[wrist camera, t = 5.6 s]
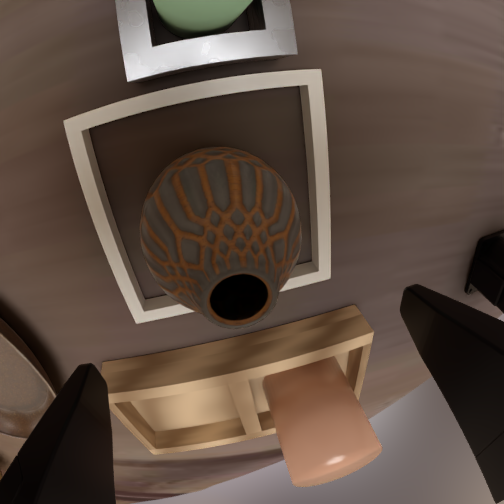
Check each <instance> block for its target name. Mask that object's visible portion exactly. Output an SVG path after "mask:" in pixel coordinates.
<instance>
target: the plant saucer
mask: <svg viewBox="0 0 504 504" xmlns="http://www.w3.org/2000/svg"><path fill="white" fill-rule="evenodd" d="M56 396H57V393H56V391H55V389H54V387H53V385H52V383H51V381H50V379H49V377H48V375H47V374H46V372H45V371H44V369H43V367H42V366H41V364H40V363H39V361H38V360H37V358H36V357H35V355H34V354H33V353H32V351H31V350H30V349H29V347H28V346H27V345H26V344H25V343H24V341H23V340H22V339H21V338H20V337H19V336H18V335H17V334H16V332H15V331H14V330H13V329H12V328H11V327H10V326H9V325H8V324H7V323H6V322H5V321H3V320H2V319H1V318H0V434H3V435H7V436H10V437H15V438H20V439H27V438H28V437H29V435H30V434H31V432H32V431H33V429H34V428H35V426H36V425H37V423H38V422H39V420H40V419H41V417H42V416H43V414H44V413H45V412H46V410H47V409H48V407H49V406H50V404H51V403H52V401H53V400H54V399H55V397H56Z"/></svg>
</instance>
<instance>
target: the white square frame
mask: <svg viewBox="0 0 504 504" xmlns="http://www.w3.org/2000/svg"><path fill="white" fill-rule="evenodd" d="M288 86H299V87H300V96H301V105H302V115H303V125H304V136H305V148H306V160H307V174H308V189H309V205H310V224H311V247H312V261H311V262H307V263H303V264H299V265H296V266H295V269H294V271H293V273H292V275H291V276H290V278H289V280H288V281H287V283H286V284H285V285H284V287H283V288H282V289H281V290H280V291H284V290H288V289H292V288H296V287H300V286H304V285H308V284H312V283H316V282H319V281H323V280H327V279H330V276H331V219H330V183H329V161H328V143H327V128H326V115H325V103H324V93H323V82H322V73H321V69H308V70H291V71H278V72H267V73H258V74H249V75H241V76H234V77H227V78H221V79H215V80H209V81H203V82H198V83H193V84H188V85H183V86H178V87H174V88H169V89H165V90H161V91H156V92H152V93H148V94H145V95H141V96H137V97H134V98H130V99H126V100H123V101H120V102H116V103H113V104H110V105H107V106H104V107H100V108H97V109H94V110H92V111H89V112H86V113H83V114H80V115H77V116H75V117H72V118H69V119H67V120H64V121H63V122H64V126H65V130H66V134H67V138H68V142H69V146H70V150H71V153H72V157H73V161H74V164H75V168H76V171H77V174H78V178H79V181H80V184H81V187H82V190H83V193H84V196H85V200H86V202H87V205H88V208H89V211H90V214H91V217H92V220H93V223H94V225H95V228H96V231H97V233H98V236H99V239H100V241H101V244H102V247H103V249H104V252H105V254H106V257H107V259H108V262H109V264H110V266H111V269H112V271H113V274H114V276H115V278H116V280H117V283H118V285H119V287H120V290H121V292H122V294H123V296H124V298H125V301H126V303H127V305H128V307H129V309H130V311H131V313H132V316H133V318H134V320H135V322H136V324H137V323H142V322H147V321H152V320H157V319H162V318H167V317H172V316H176V315H181V314H186V313H190V312H195V311H193V310H190V309H188V308H186V307H184V306H182V305H181V304H179V303H177V302H176V301H175V300H173V299H172V298H171V297H170V296H168V295H165V296H160V297H155V298H151V299H146V300H145V298H144V296H143V294H142V291H141V289H140V286H139V284H138V281H137V279H136V276H135V274H134V271H133V269H132V266H131V264H130V261H129V258H128V256H127V253H126V250H125V248H124V245H123V242H122V239H121V236H120V234H119V231H118V228H117V225H116V222H115V219H114V216H113V213H112V210H111V207H110V204H109V201H108V198H107V194H106V191H105V188H104V184H103V181H102V178H101V174H100V171H99V167H98V164H97V160H96V156H95V153H94V149H93V145H92V141H91V137H90V133H89V129H88V128H91V127H94V126H97V125H100V124H103V123H107V122H110V121H113V120H116V119H120V118H123V117H127V116H130V115H134V114H137V113H141V112H145V111H149V110H152V109H156V108H161V107H165V106H169V105H173V104H178V103H182V102H187V101H192V100H197V99H202V98H207V97H213V96H219V95H225V94H231V93H237V92H244V91H252V90H259V89H268V88H277V87H288ZM280 291H279V292H280Z"/></svg>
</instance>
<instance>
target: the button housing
mask: <svg viewBox="0 0 504 504" xmlns="http://www.w3.org/2000/svg"><path fill="white" fill-rule="evenodd" d="M115 3H116V11H117V19H118V26H119V33H120V40H121V46H122V53H123V59H124V65H125V70H126V76H127V81H128V82H134V83H140V82H143V81H147V80H151V79H155V78H159V77H164V76H168V75H172V74H177V73H182V72H187V71H192V70H197V69H203V68H208V67H214V66H221V65H228V64H235V63H243V62H251V61H261V60H272V59H280V58H284V57H288V56H292V55H296V54H298V52H297V45H296V38H295V31H294V24H293V17H292V11H291V5H290V0H253V1H252V2H251V3H250V4H249V5H248V6H247V8H246V10H247V16H248V22H249V29H250V31H244V32H235V33H226V34H219V35H212V36H205V37H199V38H193V39H187V40H182V41H177V42H172V43H168V44H163V45H159V46H156V40H155V33H154V27H153V20H152V13H151V6H150V0H115Z"/></svg>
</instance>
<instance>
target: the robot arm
mask: <svg viewBox="0 0 504 504" xmlns="http://www.w3.org/2000/svg"><path fill="white" fill-rule="evenodd" d="M477 290H478V291H479V292H480V293H481V294H482V295H483V296H484V297H485V298H486V299H488V300H489V301H490V302H491V303H492V304H493V305H494V306H497V307H498V308H499V309H500V310H501V311H502V312H503V313H504V230H503V231H501V232H498V233H495V234H492V235H490V236H487V237H484V238H482V239H481V240H480V241H479V243H478V247H477V251H476V255H475V259H474V262H473V266H472V269H471V273H470V276H469V280H468V283H467V286H466V289H465V292H466V293H467V294H468V295H469V294H471V293H473V292H475V291H477ZM400 313H401V316H402V318H403V320H404V322H405V324H406V326H407V329H408V331H409V333H410V335H411V337H412V339H413V341H414V343H415V345H416V347H417V350H418V352H419V354H420V356H421V357H422V359H423V361H424V363H425V364H426V366H427V368H428V369H429V371H430V373H431V375H432V376H433V378H434V380H435V381H436V383H437V385H438V387H439V389H440V390H441V392H442V394H443V396H444V398H445V399H446V401H447V403H448V405H449V407H450V409H451V410H452V412H453V414H454V416H455V418H456V420H457V422H458V424H459V426H460V428H461V429H462V431H463V433H464V435H465V437H466V439H467V441H468V443H469V445H470V448H471V449H472V452H473V454H474V456H475V458H476V460H477V463H478V465H479V467H480V469H481V471H482V473H483V476H484V478H485V480H486V483H487V485H488V487H489V489H490V492H491V494H492V497H493V499H494V501H495V503H496V504H497V503H499V502H501V501H502V500H504V322H503V321H501V320H499V319H497V318H494V317H492V316H490V315H488V314H486V313H483V312H481V311H479V310H477V309H474V308H472V307H470V306H468V305H465V304H463V303H461V302H458V301H456V300H454V299H452V298H449V297H447V296H445V295H442V294H440V293H438V292H435V291H433V290H431V289H428V288H426V287H424V286H421V285H419V284H414V285H411V286H408V287H406V288H405V289H404V292H403V296H402V301H401V306H400ZM0 504H116V499H115V487H114V471H113V442H112V427H111V418H110V408H109V396H108V386H107V383H106V381H105V379H104V378H103V376H102V375H101V374H100V372H99V371H98V369H97V368H96V367H95V365H93V364H92V363H88V364H81V365H79V366H78V367H77V368H76V370H75V371H74V372H73V374H72V375H71V376H70V378H69V379H68V380H67V382H66V383H65V385H64V386H63V387H62V389H61V390H60V392H59V393H58V394H57V396H56V397H55V399H54V400H53V401H52V403H51V404H50V406H49V407H48V409H47V410H46V412H45V413H44V414H43V416H42V417H41V419H40V420H39V422H38V423H37V425H36V426H35V428H34V429H33V431H32V432H31V434H30V435H29V437H28V438H27V440H26V441H25V443H24V444H23V446H22V448H21V449H20V451H19V452H18V456H16V457H15V458H14V460H13V462H12V463H11V465H10V466H9V468H8V469H7V471H6V473H5V474H4V476H3V477H2V479H1V480H0Z"/></svg>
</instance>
